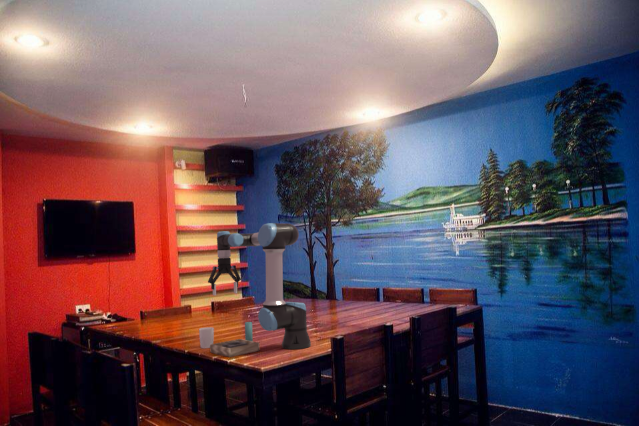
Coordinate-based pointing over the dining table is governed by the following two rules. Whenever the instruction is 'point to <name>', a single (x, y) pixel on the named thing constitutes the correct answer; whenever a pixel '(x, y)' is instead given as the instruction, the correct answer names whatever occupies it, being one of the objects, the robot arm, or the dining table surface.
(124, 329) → the dining table surface
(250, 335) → the peg
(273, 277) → the robot arm
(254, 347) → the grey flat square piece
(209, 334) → the white cup
